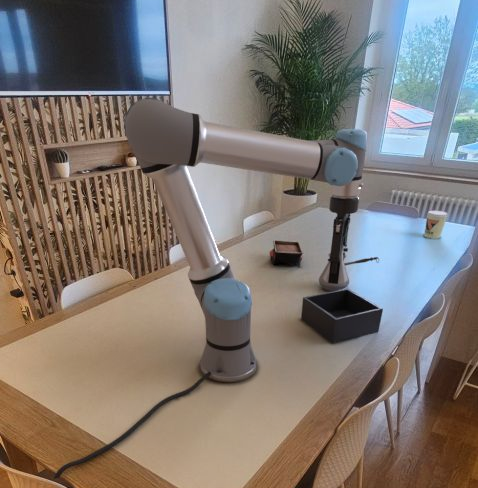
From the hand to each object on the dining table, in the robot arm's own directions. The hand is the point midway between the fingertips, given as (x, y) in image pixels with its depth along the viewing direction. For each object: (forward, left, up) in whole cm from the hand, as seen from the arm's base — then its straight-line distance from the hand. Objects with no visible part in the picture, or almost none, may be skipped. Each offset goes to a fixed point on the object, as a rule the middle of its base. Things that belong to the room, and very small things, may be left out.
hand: (335, 278), depth 127 cm
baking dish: (+21, +61, -18) cm, 67 cm away
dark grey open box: (+5, +2, -18) cm, 18 cm away
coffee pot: (+25, +24, -18) cm, 39 cm away
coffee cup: (+110, +63, -18) cm, 128 cm away
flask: (0, 0, -1) cm, 1 cm away
